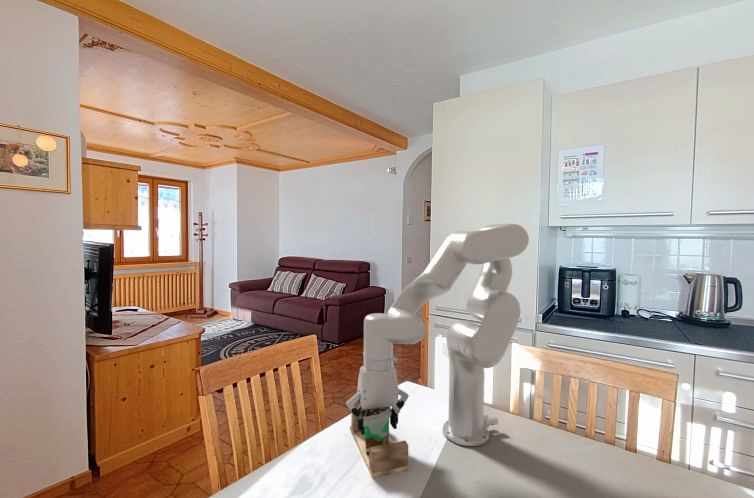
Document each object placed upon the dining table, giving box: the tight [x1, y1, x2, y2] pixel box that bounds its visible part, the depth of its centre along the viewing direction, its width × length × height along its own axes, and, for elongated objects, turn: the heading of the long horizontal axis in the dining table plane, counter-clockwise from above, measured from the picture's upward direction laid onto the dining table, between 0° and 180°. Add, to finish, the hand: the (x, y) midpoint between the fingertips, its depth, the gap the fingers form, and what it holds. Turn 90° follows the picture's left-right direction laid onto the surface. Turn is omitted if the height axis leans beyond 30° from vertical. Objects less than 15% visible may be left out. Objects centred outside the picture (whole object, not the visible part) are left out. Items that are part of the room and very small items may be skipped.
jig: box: [349, 425, 409, 479], centre depth 91 cm, size 9×21×6 cm, turn 18°
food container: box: [363, 406, 392, 455], centre depth 90 cm, size 12×6×10 cm, turn 171°
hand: (377, 428), depth 90 cm, fingers open, 8 cm apart
